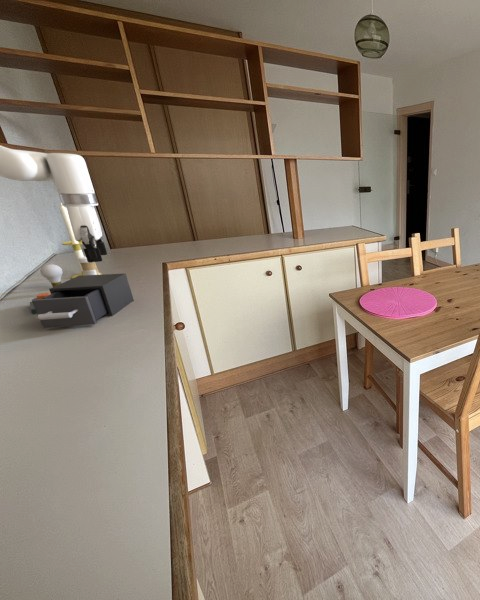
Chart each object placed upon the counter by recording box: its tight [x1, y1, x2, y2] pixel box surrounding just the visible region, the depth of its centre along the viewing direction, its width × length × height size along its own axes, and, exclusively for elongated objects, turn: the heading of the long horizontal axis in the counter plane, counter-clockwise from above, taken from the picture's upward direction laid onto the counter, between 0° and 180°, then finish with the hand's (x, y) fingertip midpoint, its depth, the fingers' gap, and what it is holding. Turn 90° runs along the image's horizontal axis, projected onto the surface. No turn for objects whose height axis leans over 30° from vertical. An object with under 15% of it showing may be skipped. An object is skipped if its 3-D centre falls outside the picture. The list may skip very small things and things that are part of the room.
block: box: [29, 297, 38, 315], centre depth 108 cm, size 10×8×4 cm
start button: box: [36, 292, 51, 299], centre depth 107 cm, size 4×4×2 cm
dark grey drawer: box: [31, 288, 108, 329], centre depth 96 cm, size 18×12×9 cm
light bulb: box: [40, 263, 64, 287], centre depth 125 cm, size 6×6×10 cm
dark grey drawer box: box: [48, 273, 135, 318], centre depth 106 cm, size 15×14×11 cm
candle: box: [59, 202, 102, 279], centre depth 137 cm, size 10×10×32 cm
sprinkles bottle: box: [77, 255, 100, 275], centre depth 124 cm, size 5×5×13 cm
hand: (98, 258), depth 96 cm, fingers open, 9 cm apart
